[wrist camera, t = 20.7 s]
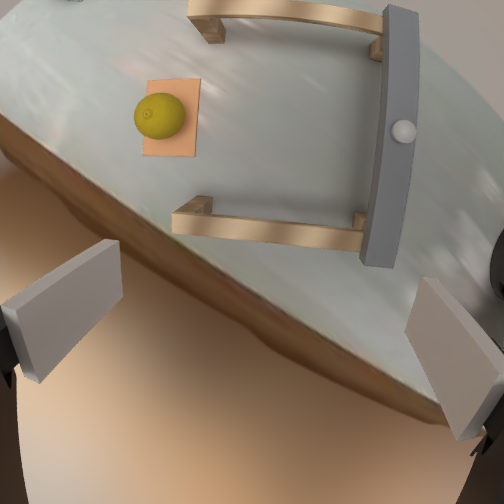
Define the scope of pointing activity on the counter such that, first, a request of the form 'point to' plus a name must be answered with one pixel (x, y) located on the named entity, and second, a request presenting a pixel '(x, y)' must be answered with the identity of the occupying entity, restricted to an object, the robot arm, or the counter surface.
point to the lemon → (159, 116)
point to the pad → (186, 136)
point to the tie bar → (393, 137)
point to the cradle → (262, 230)
